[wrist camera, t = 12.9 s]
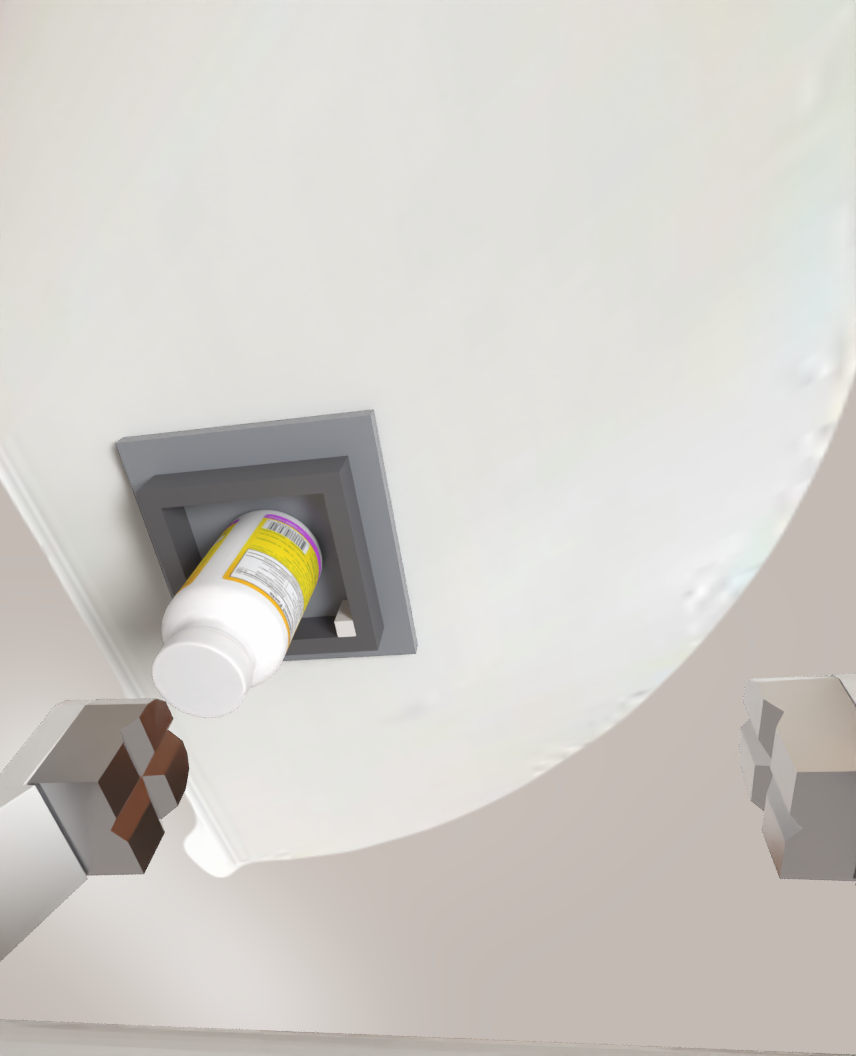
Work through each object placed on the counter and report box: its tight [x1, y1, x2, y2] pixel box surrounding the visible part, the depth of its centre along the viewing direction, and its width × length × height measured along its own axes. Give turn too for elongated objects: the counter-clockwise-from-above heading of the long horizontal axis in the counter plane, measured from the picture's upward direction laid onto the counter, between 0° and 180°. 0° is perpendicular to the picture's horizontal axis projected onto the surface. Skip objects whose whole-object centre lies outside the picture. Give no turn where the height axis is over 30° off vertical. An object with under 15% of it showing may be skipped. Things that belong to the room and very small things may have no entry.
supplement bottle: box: [152, 510, 322, 718], centre depth 40 cm, size 7×7×13 cm
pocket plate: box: [116, 410, 418, 661], centre depth 45 cm, size 17×16×4 cm
